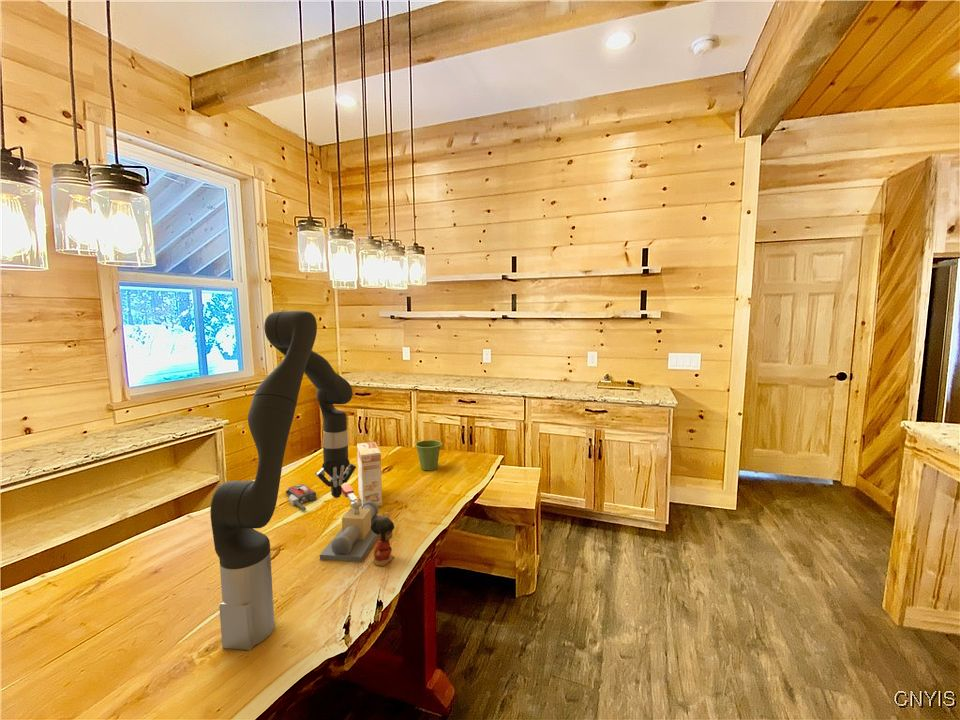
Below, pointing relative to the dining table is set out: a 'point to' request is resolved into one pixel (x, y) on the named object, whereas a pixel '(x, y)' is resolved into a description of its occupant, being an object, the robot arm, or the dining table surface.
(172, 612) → the dining table surface
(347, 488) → the lever
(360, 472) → the coffeecake box
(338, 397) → the robot arm
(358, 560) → the valve stand
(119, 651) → the dining table surface
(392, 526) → the figurine
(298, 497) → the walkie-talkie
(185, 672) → the dining table surface
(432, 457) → the plant pot
